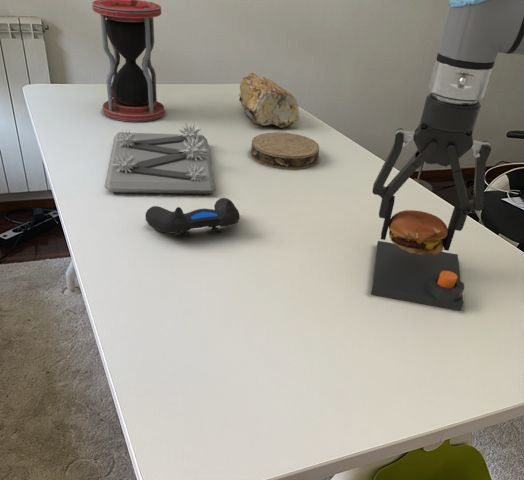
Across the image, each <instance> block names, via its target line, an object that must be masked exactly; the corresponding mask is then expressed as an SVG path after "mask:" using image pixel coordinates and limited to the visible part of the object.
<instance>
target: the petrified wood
mask: <svg viewBox="0 0 524 480" xmlns="http://www.w3.org/2000/svg"><path fill="white" fill-rule="evenodd" d="M238 95H239V99H238V101H239V102H240V104H241V105H240V106H241V107H242V108H243V110H244V111H245V116H246V117H247V118H248V119H249V120H250V121H251V122H253V123H254V124H256V125H261V126H270V125H274V126H277V127H279V128H281V129H285V128H287V127H290V125H293V124H294V122H297V121H299V119H300V116H299V115H300V111H299V109H300V108H299V104H298V101H297V99H296V98H295V96H294V95H293V94H292V93H290V92H289V91H287V90H286V89H285V88H283V87H281V86H279V85H277V84H276V82H274V81H273V80H272V79H269V78H266V77H264V76H263V77H260V76H258V75H257V74H256V73H254V72H250V73H249V74H248V76H245V77H243V78H242V79H241V82H240V84H239V94H238Z"/></svg>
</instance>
